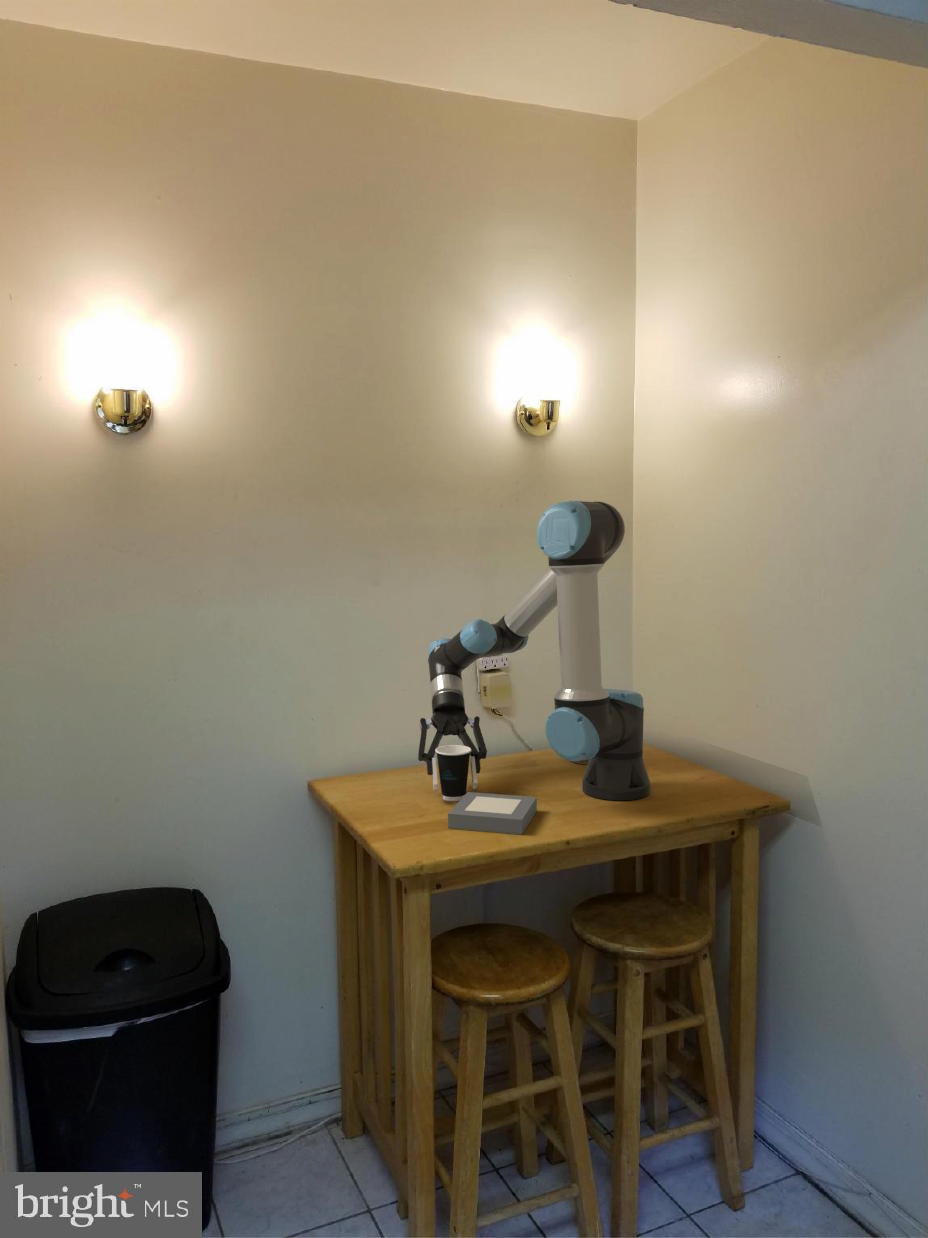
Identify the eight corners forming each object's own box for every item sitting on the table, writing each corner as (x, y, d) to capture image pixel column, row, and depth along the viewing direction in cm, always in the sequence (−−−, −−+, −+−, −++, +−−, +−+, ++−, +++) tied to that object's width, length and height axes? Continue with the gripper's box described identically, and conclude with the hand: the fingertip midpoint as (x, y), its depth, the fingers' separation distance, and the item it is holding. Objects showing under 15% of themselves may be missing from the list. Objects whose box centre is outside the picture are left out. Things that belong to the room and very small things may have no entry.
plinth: (536, 811, 194) (536, 796, 194) (521, 834, 180) (521, 819, 179) (468, 805, 198) (467, 791, 198) (447, 828, 184) (447, 813, 183)
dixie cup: (467, 791, 208) (467, 743, 207) (475, 802, 201) (474, 752, 199) (433, 794, 207) (432, 745, 206) (439, 804, 199) (438, 754, 198)
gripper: (490, 706, 218) (500, 792, 204) (402, 709, 216) (406, 796, 202) (493, 688, 212) (504, 775, 198) (403, 691, 210) (407, 779, 196)
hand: (455, 786), depth 200 cm, fingers closed on dixie cup, 8 cm apart
